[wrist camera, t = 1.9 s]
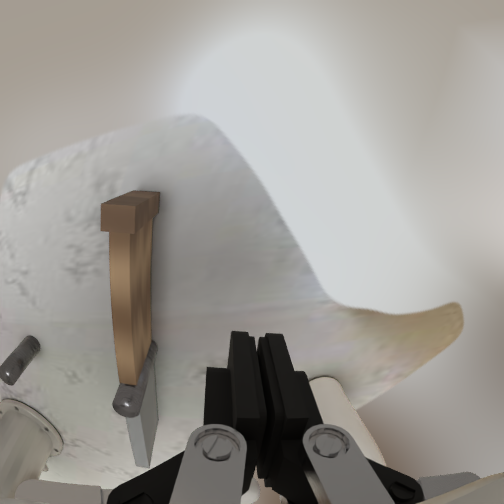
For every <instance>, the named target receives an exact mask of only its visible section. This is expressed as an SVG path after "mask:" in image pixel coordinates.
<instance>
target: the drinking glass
mask: <svg viewBox="0 0 504 504" xmlns="http://www.w3.org/2000/svg"><path fill="white" fill-rule="evenodd" d="M309 384H310V387H311V389H312V392H313V395H314V398H315V401H316V403H317V406H318V409H319V412H320V415H321V417H322V420H323V423H324V424H331V425H336V426H338V427H341V428H343V429H344V430H346V431H347V432H349V434H350V435H351V436H352V437H353V439H354V440H355V442H356V443H357V445H358V446H359V448H360V450H361V451H362V453H363V454H364V456H365V457H366V458H368V459H371V460H373V461H375V462H377V463H379V464H382V465H384V466H386V467H387V465H386V463H385V460H384V458H383V456H382V454H381V452H380V450H379V448H378V446H377V444H376V442H375V441H374V439H373V437H372V436H371V434H370V433H369V431H368V429H367V428H366V426H365V425H364V423H363V422H362V420H361V419H360V417H359V415H358V414H357V412H356V411H355V409H354V407H353V406H352V404H351V403H350V401H349V399H348V398H347V396H346V395H345V393H344V391H343V389H342V387H341V385H340V383H339V382H338V381H337V380H335V379H333V378H330V377H320V378H316V379H313V380H311V381H310V382H309Z"/></svg>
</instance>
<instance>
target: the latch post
mask: <svg viewBox="0 0 504 504" xmlns="http://www.w3.org/2000/svg"><path fill="white" fill-rule="evenodd" d="M39 351H40V344H39V342H38V341H37V339H35V338H34V337H33V336H27V337H26V338H25V339H24V340H23V341H22V342H21V343H20V344H19V345H18V347H17V348H16V349H15V350H14V351H13V352H12V353H11V354H10V356H9V357H8V358H7V359H6V360H5V361H4V363H3V364H2V365H1V366H0V378H1V379H2V380H3V381H4V382H5V383H6V384H8V385H14V384H15V382H16V381H17V379H18V378H19V377H20V375H21V374H22V373H23V371H24V370H25V369H26V368H27V366H28V365H29V364H30V362H31V361H32V360H33V358H34V357H35V356H36V355H37V353H38V352H39Z"/></svg>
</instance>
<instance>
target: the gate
mask: <svg viewBox="0 0 504 504" xmlns="http://www.w3.org/2000/svg"><path fill="white" fill-rule="evenodd" d="M159 198H160V192H148V191H131V192H129V193H126V194H124V195H121V196H119V197H116V198H114V199H111V200H109V201H107V202H104V203H102V204H101V231H106V232H109V260H110V289H111V306H112V320H113V332H114V342H115V351H116V359H117V367H118V375H119V382H120V383H124V384H130V385H136V386H137V383H138V380H139V377H140V374H141V371H142V368H143V365H144V362H145V359H146V356H147V353H148V350H149V347H150V344H151V245H152V222H153V217H154V216H156V215H157V214H158V212H159Z"/></svg>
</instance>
